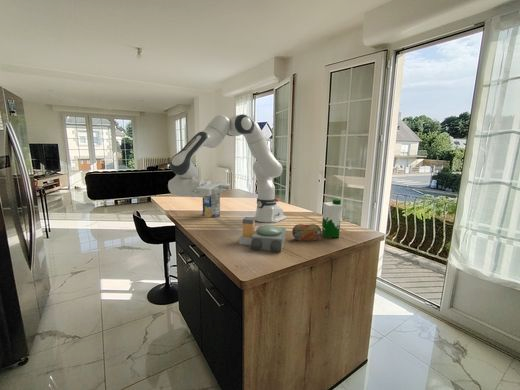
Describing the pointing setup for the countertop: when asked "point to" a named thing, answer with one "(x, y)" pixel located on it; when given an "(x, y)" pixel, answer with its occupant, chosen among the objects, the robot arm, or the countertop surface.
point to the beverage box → (211, 205)
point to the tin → (306, 232)
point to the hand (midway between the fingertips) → (225, 189)
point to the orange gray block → (248, 226)
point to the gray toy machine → (266, 238)
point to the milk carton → (331, 218)
